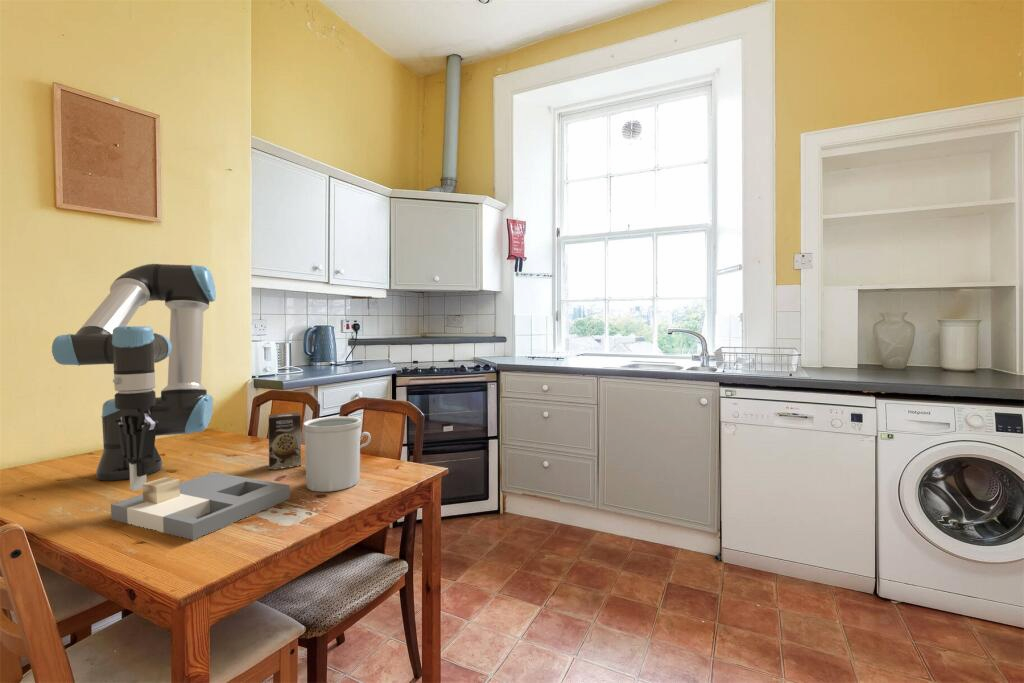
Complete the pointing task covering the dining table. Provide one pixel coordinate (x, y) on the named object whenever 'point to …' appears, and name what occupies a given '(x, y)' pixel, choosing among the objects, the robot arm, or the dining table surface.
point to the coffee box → (284, 440)
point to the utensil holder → (332, 453)
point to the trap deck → (202, 505)
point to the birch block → (161, 490)
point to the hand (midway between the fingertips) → (138, 488)
